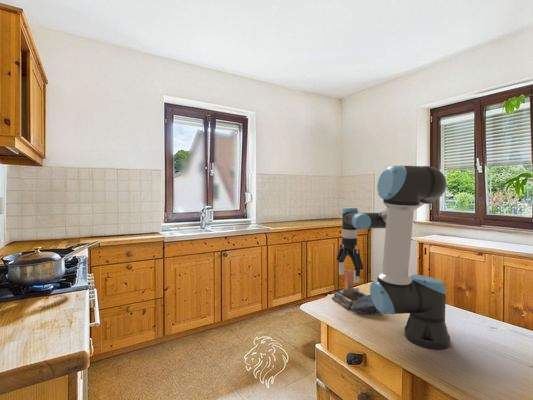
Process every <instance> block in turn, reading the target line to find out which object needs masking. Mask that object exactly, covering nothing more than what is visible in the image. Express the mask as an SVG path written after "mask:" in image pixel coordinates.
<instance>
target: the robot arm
mask: <svg viewBox="0 0 533 400" xmlns="http://www.w3.org/2000/svg"><path fill="white" fill-rule="evenodd" d="M376 189H377V192H378V193H377V194H378V196H379V197H380V198H381V199H382V200H383V202H382V203H383V204H384V206H385V207H386V208H385V209H384V210H382V211H381V212H359V211H358V210H359V209H358V208H357V207H354V206H353V207H351V206H347V207H346V206H344V207H343V208H342V213H341V216H342V218H341V220H342V224H341V227H342V228H341V237H342V238H341V244H340V245H339V250H338V252H337V256H336V260H337V262H338V275H339V276H341V275H345V261H346V258H347V257H349V258H350V260H351V261H352V265H353V266H354V269H353V284H354V283H355V284H357V283H360V277H361V271H362V270H364V266H363V262H362V258H361V254H360V249H359V248H356V247H357V246H358V238H357V237H358V230H362V231H363V230H367V229H385V232H384V233H385V235H384V243H383V244H384V246H383V259H382V260H383V261H382V269H381V271H379V272H378V273H377V279H376V280H374V281H371V283H370V287H369V293H370V294H369V295H371V298H372V301H373V303H374V305H375V307H376V309H377V310H378V311H377V312H379V313H381V314H383V315H392V316H393V315H401V314H409V315H408V318H407V321H406V324H405V326H404V328H403V329H404V331H403V335H404V337H405V338H406V339H407V340H408V341H410V342H412V343H413V344H415V345H417V346H420V347H423V348H427V349H433V350H444V349H448V348H449V347H450V346H451V336H450V334H449V331H448V326H447V324H446V300H447V291H446V284H445V283H444V282H443V281H442V280H440V279H437V278H434V277H431V276H427V275H422V274H421V275H420V274H411V275H409V267H410V256H411V255H410V254H411V245H412V235H413V222H414V214H415V212H414V211H416V210H417V209H419V208H421V207H422V206H423V205H425V204H426V205H429V204H431V203H434V202H436V201H437V200H439V198H441V197H442V196H443V195H444V194H445V192H446V189H447V180H446V176H445V175H444V173H443V172H441V170H440V169H438V168H437V167H433V166H430V165H429V166H428V165H402V164H400V165H390V166H387V167H386V168H385V169H383V171H382V172H381V173H380V175H379V177H378V180H377V185H376Z"/></svg>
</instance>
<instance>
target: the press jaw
mask: <svg viewBox="0 0 533 400" xmlns="http://www.w3.org/2000/svg"><path fill="white" fill-rule="evenodd" d="M359 289H360V288H359V287H354V270H352V269H344V288H342V289H341V290H342V291H339V293H340V294H341V295H343V296H345V297H347V298H348V299H353V298H359V291H360V290H359Z"/></svg>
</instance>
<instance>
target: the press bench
mask: <svg viewBox="0 0 533 400" xmlns="http://www.w3.org/2000/svg"><path fill="white" fill-rule="evenodd" d="M339 291H342V289H340V290H337V291H334V292H333V296H331V300H332V301H334V302H335V303H337V304H338V305H340V306H341V307H343V309H345V310H347V311H353V310H352V309H351V306H352V304H353V303H354V302H356V301H357V300H358V299H360V298H361V297H362V296H366V295H367V294H366V293H364V292H362V291H361V290H359V298H353V299H348V298H347V297H345V296H343V295H341V294H340V293H339Z"/></svg>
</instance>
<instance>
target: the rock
mask: <svg viewBox="0 0 533 400" xmlns="http://www.w3.org/2000/svg"><path fill="white" fill-rule="evenodd" d="M351 309H352V310H351V311H356V312H359V313H362V314H368V315H375V314H377V312H379V311H378V310H377V309H376V307H375V305H374V303H373V301H372V298H371V294H366V296H362V297H361V298H360V299H358V300H357V301H356V302H354V303H353V304H352V306H351Z"/></svg>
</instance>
